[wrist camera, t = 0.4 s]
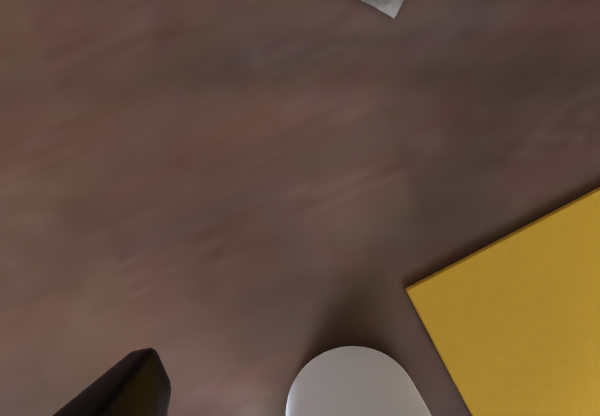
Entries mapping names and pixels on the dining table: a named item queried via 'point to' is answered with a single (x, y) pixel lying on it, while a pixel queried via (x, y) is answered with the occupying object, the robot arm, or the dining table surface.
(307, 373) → the can
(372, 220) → the dining table surface
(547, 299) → the cloth
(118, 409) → the robot arm
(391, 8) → the condiment
